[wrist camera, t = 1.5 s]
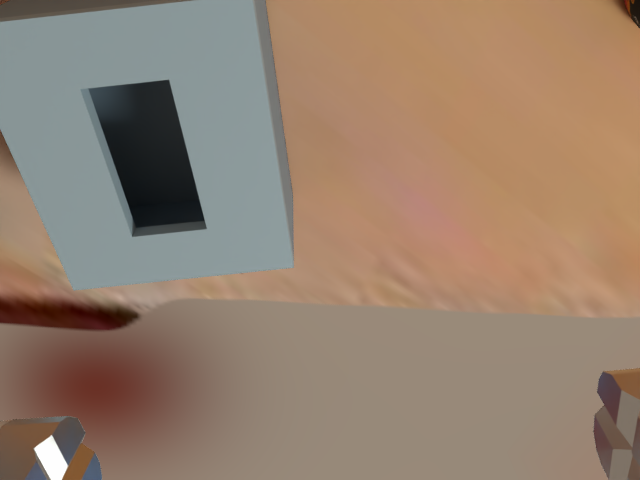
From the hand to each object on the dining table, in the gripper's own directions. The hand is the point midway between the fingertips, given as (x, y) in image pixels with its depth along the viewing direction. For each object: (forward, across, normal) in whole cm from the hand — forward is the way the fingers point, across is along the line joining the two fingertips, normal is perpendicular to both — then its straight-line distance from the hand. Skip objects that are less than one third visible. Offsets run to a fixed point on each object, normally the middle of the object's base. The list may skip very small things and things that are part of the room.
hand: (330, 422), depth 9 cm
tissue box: (+31, +12, +1) cm, 33 cm away
